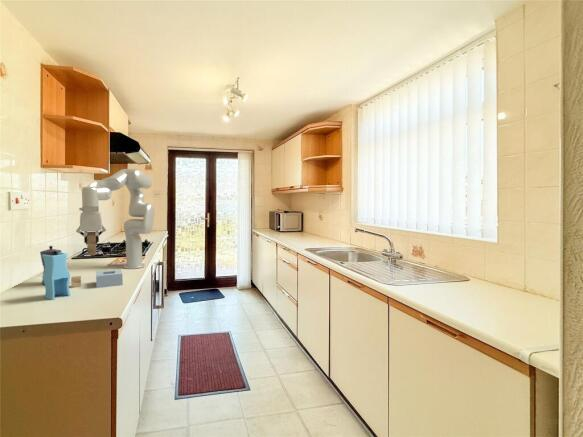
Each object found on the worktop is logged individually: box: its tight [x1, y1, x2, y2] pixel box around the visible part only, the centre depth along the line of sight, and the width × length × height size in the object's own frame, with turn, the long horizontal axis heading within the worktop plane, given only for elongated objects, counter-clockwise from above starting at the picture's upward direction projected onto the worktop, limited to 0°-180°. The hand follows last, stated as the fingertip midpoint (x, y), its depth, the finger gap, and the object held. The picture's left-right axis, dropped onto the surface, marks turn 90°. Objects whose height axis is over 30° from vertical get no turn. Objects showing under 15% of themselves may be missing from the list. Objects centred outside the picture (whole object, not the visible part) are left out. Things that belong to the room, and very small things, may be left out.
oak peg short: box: [70, 275, 82, 289], centre depth 176 cm, size 4×4×5 cm
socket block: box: [95, 268, 124, 289], centre depth 182 cm, size 12×12×6 cm
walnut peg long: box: [86, 231, 97, 256], centre depth 183 cm, size 4×4×12 cm
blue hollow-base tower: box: [42, 251, 71, 301], centre depth 158 cm, size 8×8×20 cm
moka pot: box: [39, 245, 62, 285], centre depth 181 cm, size 10×15×20 cm, turn 55°
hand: (91, 243), depth 183 cm, fingers closed on walnut peg long, 4 cm apart
